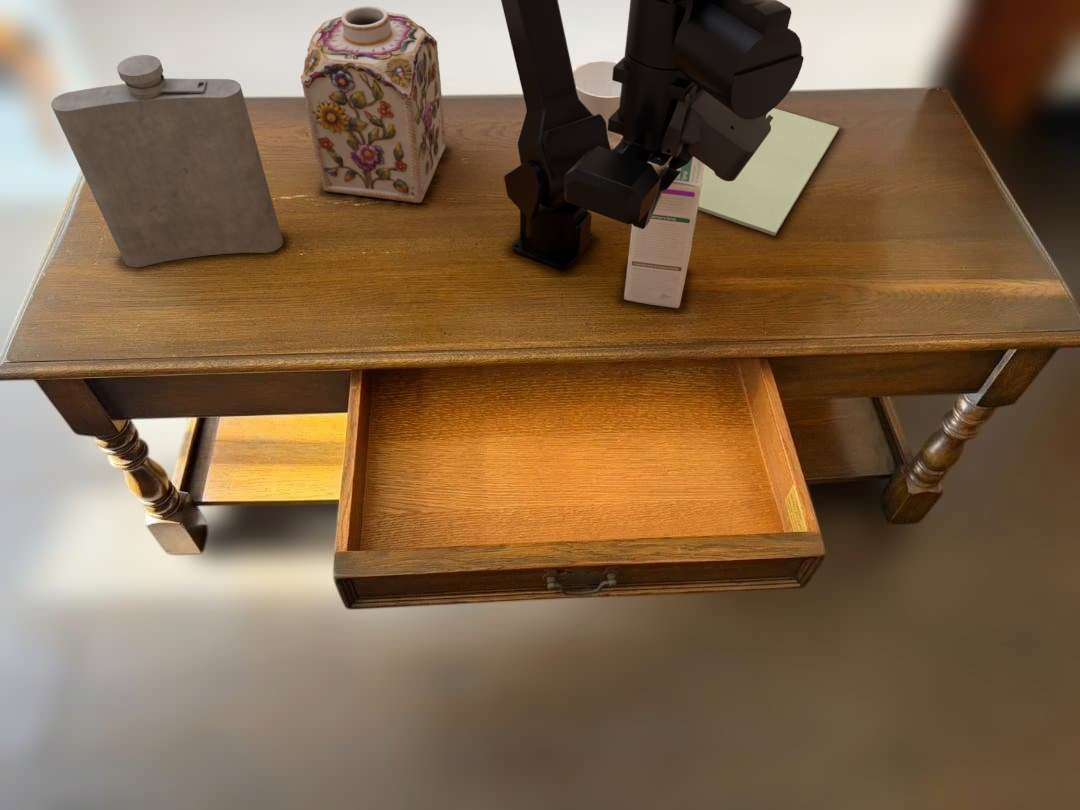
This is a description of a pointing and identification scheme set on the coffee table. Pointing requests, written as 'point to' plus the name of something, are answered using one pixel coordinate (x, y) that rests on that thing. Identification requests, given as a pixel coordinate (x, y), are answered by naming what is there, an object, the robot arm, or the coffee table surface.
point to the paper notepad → (769, 174)
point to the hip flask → (171, 164)
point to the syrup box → (665, 242)
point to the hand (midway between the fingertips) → (640, 225)
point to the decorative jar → (374, 104)
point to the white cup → (599, 91)
